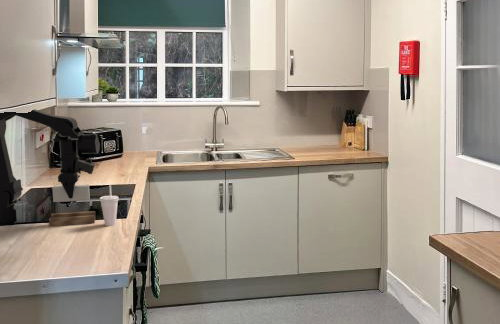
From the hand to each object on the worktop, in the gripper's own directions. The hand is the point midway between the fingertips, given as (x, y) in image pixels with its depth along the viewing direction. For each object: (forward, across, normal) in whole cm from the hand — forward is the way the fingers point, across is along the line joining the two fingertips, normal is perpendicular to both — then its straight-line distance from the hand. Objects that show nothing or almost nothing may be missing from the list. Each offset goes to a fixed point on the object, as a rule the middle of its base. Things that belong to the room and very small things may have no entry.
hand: (71, 197), depth 189 cm
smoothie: (+9, -7, -13) cm, 17 cm away
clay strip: (+1, 0, 0) cm, 1 cm away
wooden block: (+9, 0, 0) cm, 9 cm away
